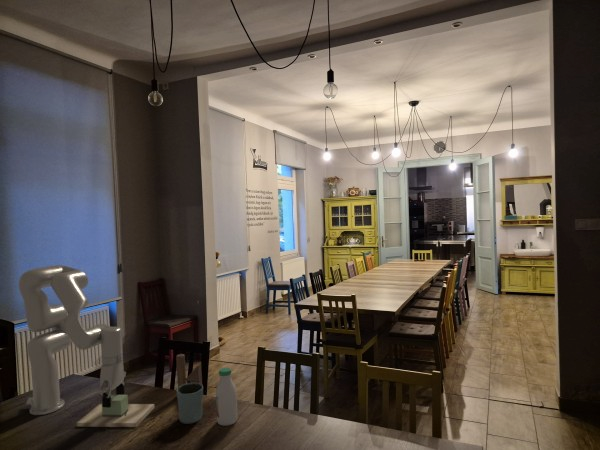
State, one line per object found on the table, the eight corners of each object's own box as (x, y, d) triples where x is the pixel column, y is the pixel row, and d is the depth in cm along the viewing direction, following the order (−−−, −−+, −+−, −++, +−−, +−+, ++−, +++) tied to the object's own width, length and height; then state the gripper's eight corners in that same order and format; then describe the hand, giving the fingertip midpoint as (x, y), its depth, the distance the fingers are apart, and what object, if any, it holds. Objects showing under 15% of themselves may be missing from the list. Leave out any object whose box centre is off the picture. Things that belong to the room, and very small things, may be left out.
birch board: (76, 426, 155) (76, 422, 155) (99, 407, 170) (99, 403, 170) (136, 427, 153) (136, 423, 153) (154, 407, 168) (154, 404, 168)
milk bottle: (241, 417, 156) (239, 367, 156) (230, 428, 149) (227, 374, 149) (225, 414, 160) (222, 364, 159) (213, 424, 153) (210, 372, 152)
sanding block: (102, 416, 159) (101, 400, 159) (109, 410, 164) (108, 394, 164) (121, 416, 158) (120, 400, 158) (128, 410, 163) (127, 394, 163)
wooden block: (199, 398, 175) (197, 357, 174) (176, 397, 177) (174, 356, 176) (203, 394, 179) (200, 354, 178) (180, 393, 180) (178, 353, 180)
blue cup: (185, 410, 164) (184, 381, 164) (209, 412, 162) (207, 382, 162) (173, 424, 154) (171, 393, 154) (197, 425, 152) (196, 394, 152)
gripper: (115, 350, 169) (116, 390, 170) (90, 367, 152) (91, 411, 153) (132, 351, 169) (133, 391, 169) (108, 367, 152) (110, 412, 152)
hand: (113, 401), depth 161 cm, fingers open, 9 cm apart
